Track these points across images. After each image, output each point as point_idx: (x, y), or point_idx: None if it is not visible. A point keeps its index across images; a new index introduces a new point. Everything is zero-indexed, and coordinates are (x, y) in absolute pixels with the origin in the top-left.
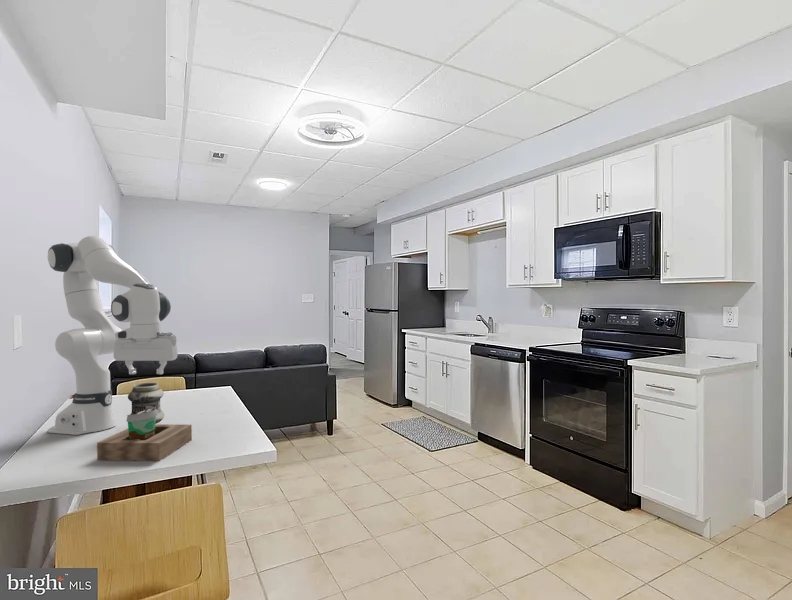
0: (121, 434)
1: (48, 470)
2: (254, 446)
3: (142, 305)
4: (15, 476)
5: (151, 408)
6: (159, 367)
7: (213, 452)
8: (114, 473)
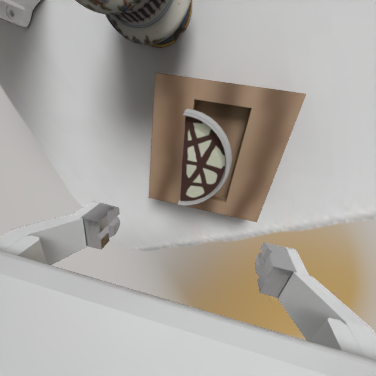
0: (163, 156)
1: (122, 209)
2: None
3: None
4: None
5: (203, 124)
6: (288, 313)
7: (343, 185)
8: (206, 235)
